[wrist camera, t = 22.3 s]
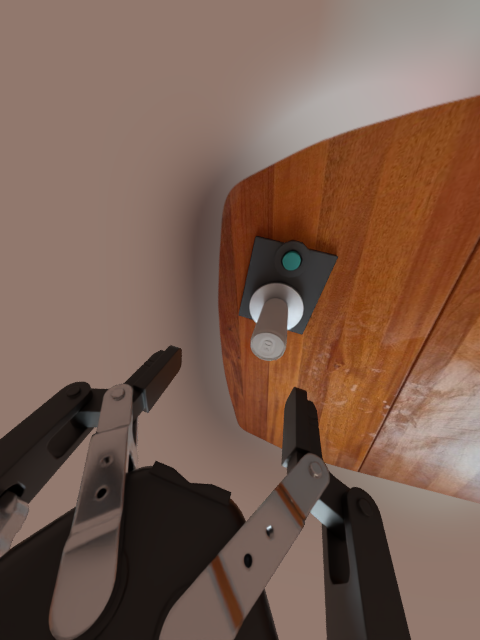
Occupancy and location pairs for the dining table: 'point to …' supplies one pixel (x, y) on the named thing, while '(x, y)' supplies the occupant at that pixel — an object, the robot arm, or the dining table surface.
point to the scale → (287, 274)
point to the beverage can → (271, 330)
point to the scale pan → (279, 292)
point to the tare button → (291, 260)
